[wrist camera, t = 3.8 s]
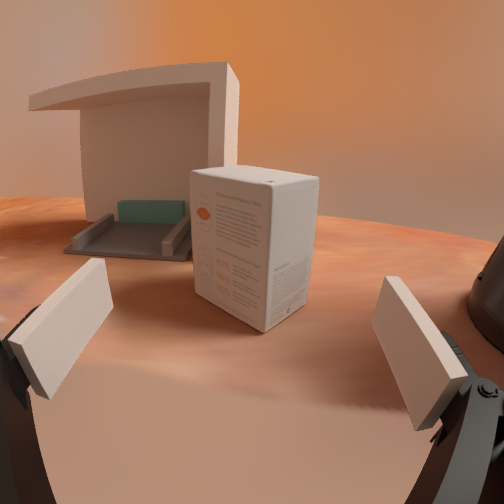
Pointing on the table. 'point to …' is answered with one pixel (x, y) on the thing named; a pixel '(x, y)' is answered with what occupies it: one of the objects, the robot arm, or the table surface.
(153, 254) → the cabinet
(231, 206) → the small box
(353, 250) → the table surface
